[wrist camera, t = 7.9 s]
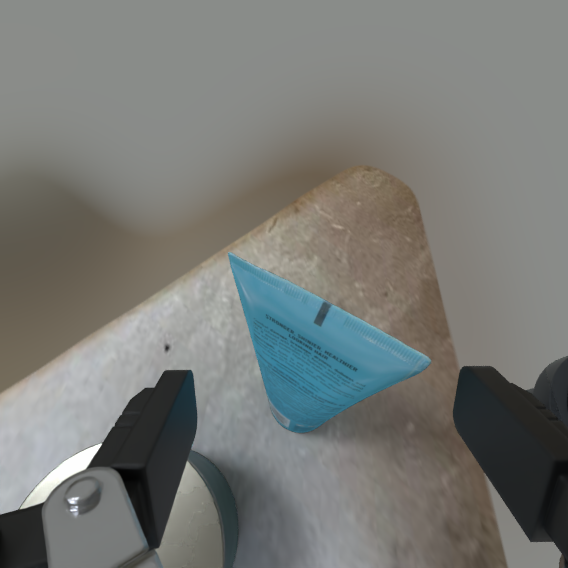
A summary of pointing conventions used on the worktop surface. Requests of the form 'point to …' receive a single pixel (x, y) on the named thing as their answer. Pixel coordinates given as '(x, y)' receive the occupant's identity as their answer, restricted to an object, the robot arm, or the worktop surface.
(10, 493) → the worktop surface
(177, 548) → the tea tin
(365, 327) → the tube
